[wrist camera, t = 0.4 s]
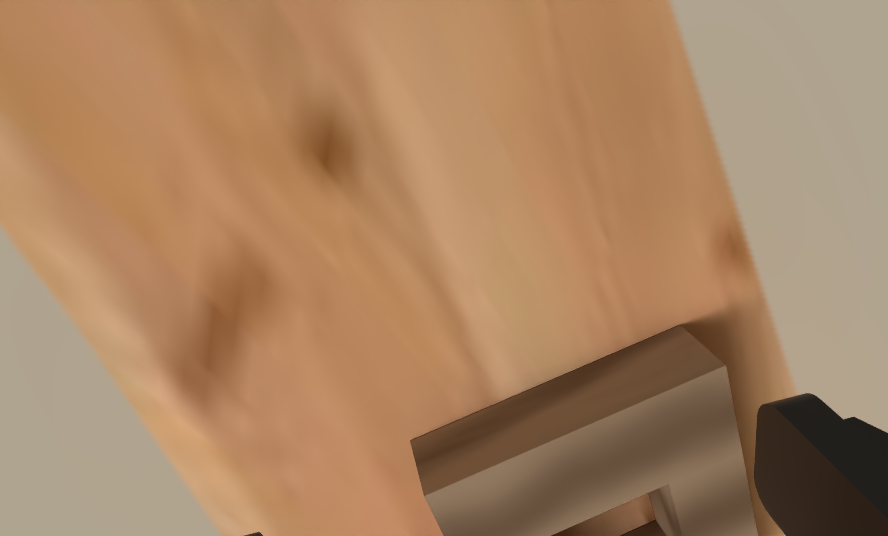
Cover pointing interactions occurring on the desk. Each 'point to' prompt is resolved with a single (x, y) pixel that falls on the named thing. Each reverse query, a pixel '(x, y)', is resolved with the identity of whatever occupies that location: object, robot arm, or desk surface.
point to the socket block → (598, 450)
